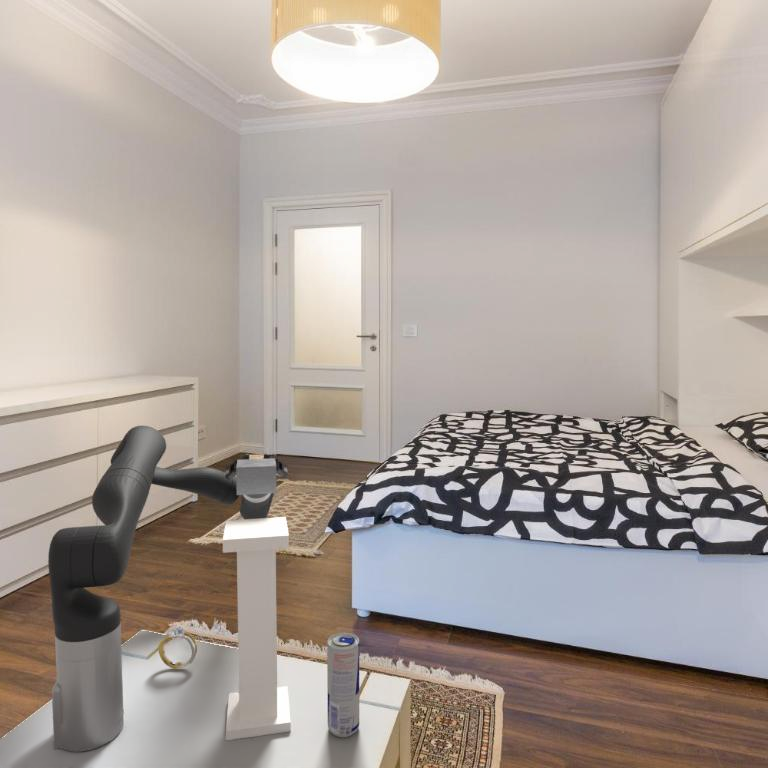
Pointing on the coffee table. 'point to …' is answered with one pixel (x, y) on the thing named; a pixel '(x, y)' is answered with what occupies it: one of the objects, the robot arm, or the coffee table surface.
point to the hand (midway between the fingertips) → (256, 458)
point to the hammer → (256, 475)
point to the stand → (257, 629)
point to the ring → (177, 634)
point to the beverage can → (343, 684)
